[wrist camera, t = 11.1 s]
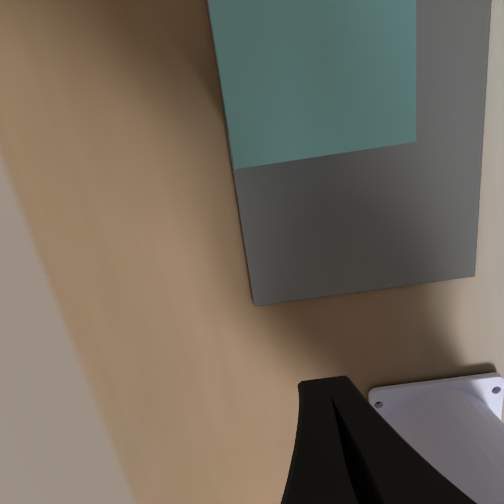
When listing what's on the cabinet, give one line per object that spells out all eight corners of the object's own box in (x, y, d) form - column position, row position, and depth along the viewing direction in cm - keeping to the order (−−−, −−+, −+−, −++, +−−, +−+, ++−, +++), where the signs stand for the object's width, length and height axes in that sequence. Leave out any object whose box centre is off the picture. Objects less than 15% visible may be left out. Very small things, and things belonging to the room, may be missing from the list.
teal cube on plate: (350, 138, 16) (416, 141, 10) (239, 155, 16) (234, 169, 10) (343, 8, 15) (416, -86, 8) (219, 28, 15) (199, -49, 9)
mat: (471, 274, 19) (474, 276, 19) (254, 303, 20) (254, 306, 19) (490, -59, 15) (495, -63, 14) (204, -12, 15) (203, -15, 15)
